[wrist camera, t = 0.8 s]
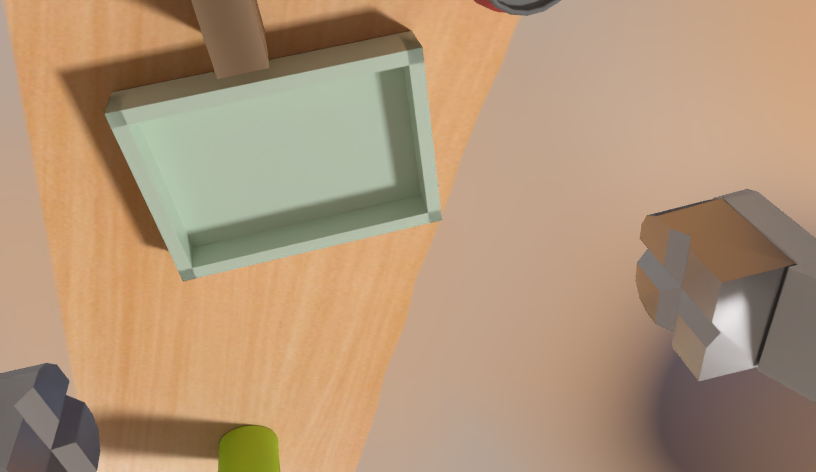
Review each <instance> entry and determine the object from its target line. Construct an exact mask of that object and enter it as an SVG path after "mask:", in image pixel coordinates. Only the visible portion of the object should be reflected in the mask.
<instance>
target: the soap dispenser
mask: <svg viewBox="0 0 816 472" xmlns="http://www.w3.org/2000/svg"><path fill="white" fill-rule="evenodd" d="M218 472H280V463H279V449H278V438H277V436H276V434H275V433H274V432H273V431H272V430H270V429H268V428H266V427H263V426H255V425H251V426H243V427H239V428H236V429H233V430H231V431H230V432H228V433H227V434H225V435H224V436H223V437H222V439H221V440H220V442H219V464H218Z"/></svg>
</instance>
